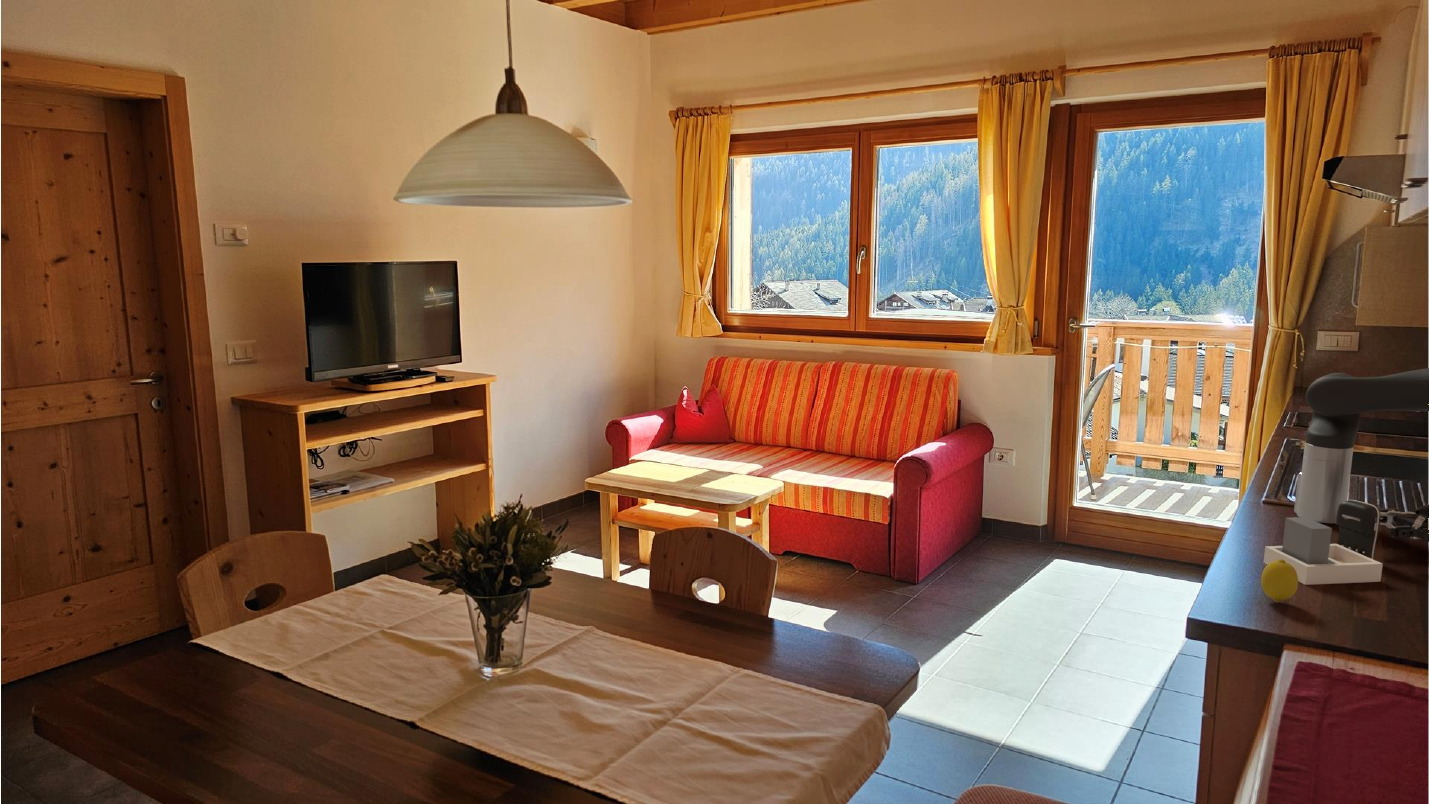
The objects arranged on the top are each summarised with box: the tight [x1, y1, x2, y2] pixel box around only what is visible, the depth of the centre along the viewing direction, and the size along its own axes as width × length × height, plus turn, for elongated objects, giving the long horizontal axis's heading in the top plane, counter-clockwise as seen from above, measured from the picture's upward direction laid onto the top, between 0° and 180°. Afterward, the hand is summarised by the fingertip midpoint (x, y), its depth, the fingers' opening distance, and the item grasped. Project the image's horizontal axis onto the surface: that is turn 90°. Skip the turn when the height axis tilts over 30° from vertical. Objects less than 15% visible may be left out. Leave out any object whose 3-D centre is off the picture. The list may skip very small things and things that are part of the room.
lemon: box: [1260, 559, 1299, 604], centre depth 166 cm, size 6×6×8 cm
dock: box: [1263, 516, 1384, 586], centre depth 180 cm, size 11×15×10 cm
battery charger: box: [1334, 499, 1380, 560], centre depth 188 cm, size 7×4×11 cm, turn 22°
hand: (1375, 525), depth 188 cm, fingers open, 8 cm apart
